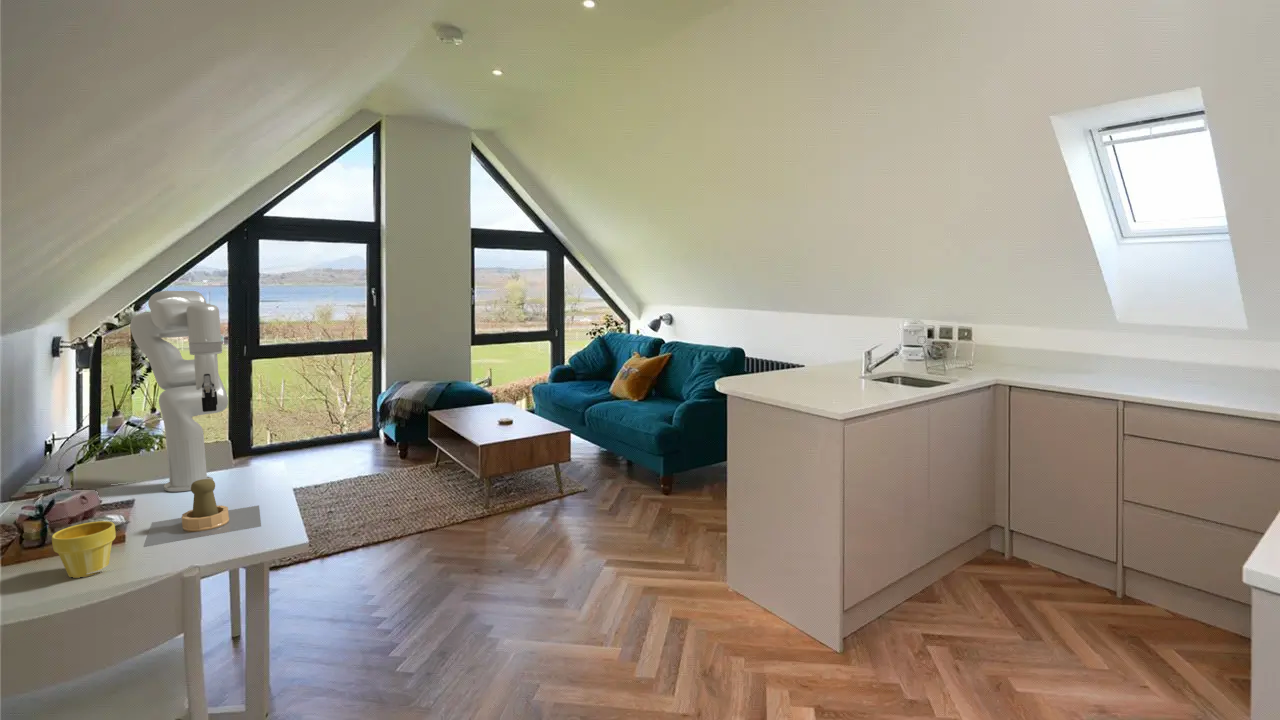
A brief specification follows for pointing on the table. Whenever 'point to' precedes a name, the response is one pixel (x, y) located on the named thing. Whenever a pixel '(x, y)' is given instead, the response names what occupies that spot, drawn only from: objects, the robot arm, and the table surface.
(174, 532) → the slate board
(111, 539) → the plant pot
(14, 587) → the table surface
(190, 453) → the robot arm
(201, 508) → the cork
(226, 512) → the tan shallow bowl
